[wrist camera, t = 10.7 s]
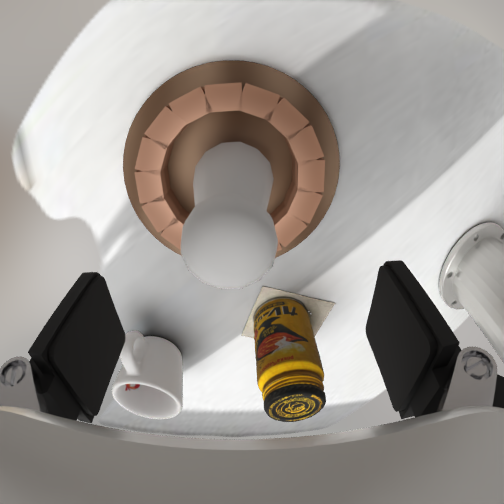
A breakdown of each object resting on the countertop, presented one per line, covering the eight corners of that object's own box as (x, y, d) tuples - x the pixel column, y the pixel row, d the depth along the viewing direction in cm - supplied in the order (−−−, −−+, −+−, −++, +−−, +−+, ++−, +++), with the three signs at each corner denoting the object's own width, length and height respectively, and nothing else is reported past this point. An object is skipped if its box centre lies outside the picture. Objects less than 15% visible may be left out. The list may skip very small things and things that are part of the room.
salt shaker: (269, 135, 22) (303, 187, 11) (270, 203, 25) (296, 306, 14) (194, 139, 22) (147, 196, 11) (200, 206, 25) (172, 312, 14)
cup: (108, 312, 32) (85, 363, 25) (170, 306, 31) (156, 362, 24) (141, 370, 37) (130, 418, 30) (196, 367, 37) (191, 419, 30)
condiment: (262, 285, 30) (273, 382, 20) (334, 302, 32) (367, 390, 22) (241, 334, 34) (243, 425, 23) (307, 346, 35) (326, 430, 25)
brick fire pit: (336, 62, 20) (351, 59, 17) (329, 255, 29) (339, 275, 26) (116, 78, 20) (98, 78, 17) (147, 265, 29) (137, 286, 26)
